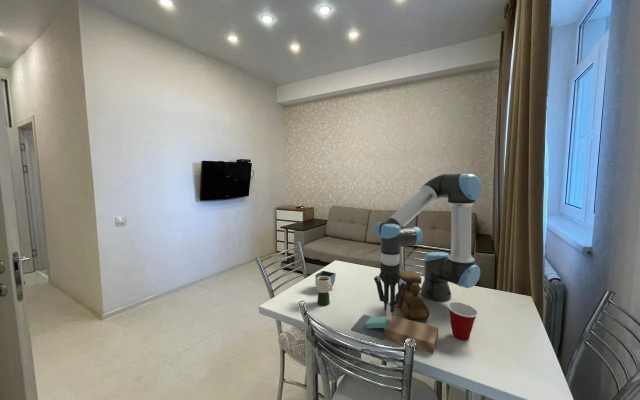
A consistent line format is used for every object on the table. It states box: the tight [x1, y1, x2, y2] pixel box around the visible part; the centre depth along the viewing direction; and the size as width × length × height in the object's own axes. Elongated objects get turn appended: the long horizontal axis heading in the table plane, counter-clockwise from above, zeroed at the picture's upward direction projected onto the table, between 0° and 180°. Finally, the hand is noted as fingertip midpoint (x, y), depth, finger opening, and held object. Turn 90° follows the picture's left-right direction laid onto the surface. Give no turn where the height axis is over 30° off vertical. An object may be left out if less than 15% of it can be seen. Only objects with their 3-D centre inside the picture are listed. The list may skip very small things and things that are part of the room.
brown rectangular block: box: [384, 315, 439, 355], centre depth 107 cm, size 18×12×4 cm, turn 59°
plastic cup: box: [447, 301, 479, 342], centre depth 107 cm, size 11×11×12 cm
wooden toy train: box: [395, 270, 431, 320], centre depth 126 cm, size 20×11×17 cm, turn 0°
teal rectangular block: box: [365, 315, 389, 328], centre depth 113 cm, size 9×6×2 cm, turn 59°
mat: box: [350, 314, 385, 341], centre depth 115 cm, size 14×14×1 cm
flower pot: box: [315, 270, 337, 288], centre depth 153 cm, size 9×9×9 cm
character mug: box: [314, 276, 333, 306], centre depth 136 cm, size 11×7×13 cm, turn 48°
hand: (389, 318), depth 111 cm, fingers closed
